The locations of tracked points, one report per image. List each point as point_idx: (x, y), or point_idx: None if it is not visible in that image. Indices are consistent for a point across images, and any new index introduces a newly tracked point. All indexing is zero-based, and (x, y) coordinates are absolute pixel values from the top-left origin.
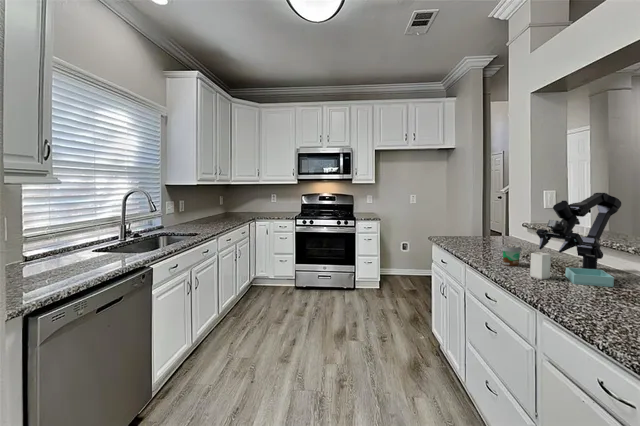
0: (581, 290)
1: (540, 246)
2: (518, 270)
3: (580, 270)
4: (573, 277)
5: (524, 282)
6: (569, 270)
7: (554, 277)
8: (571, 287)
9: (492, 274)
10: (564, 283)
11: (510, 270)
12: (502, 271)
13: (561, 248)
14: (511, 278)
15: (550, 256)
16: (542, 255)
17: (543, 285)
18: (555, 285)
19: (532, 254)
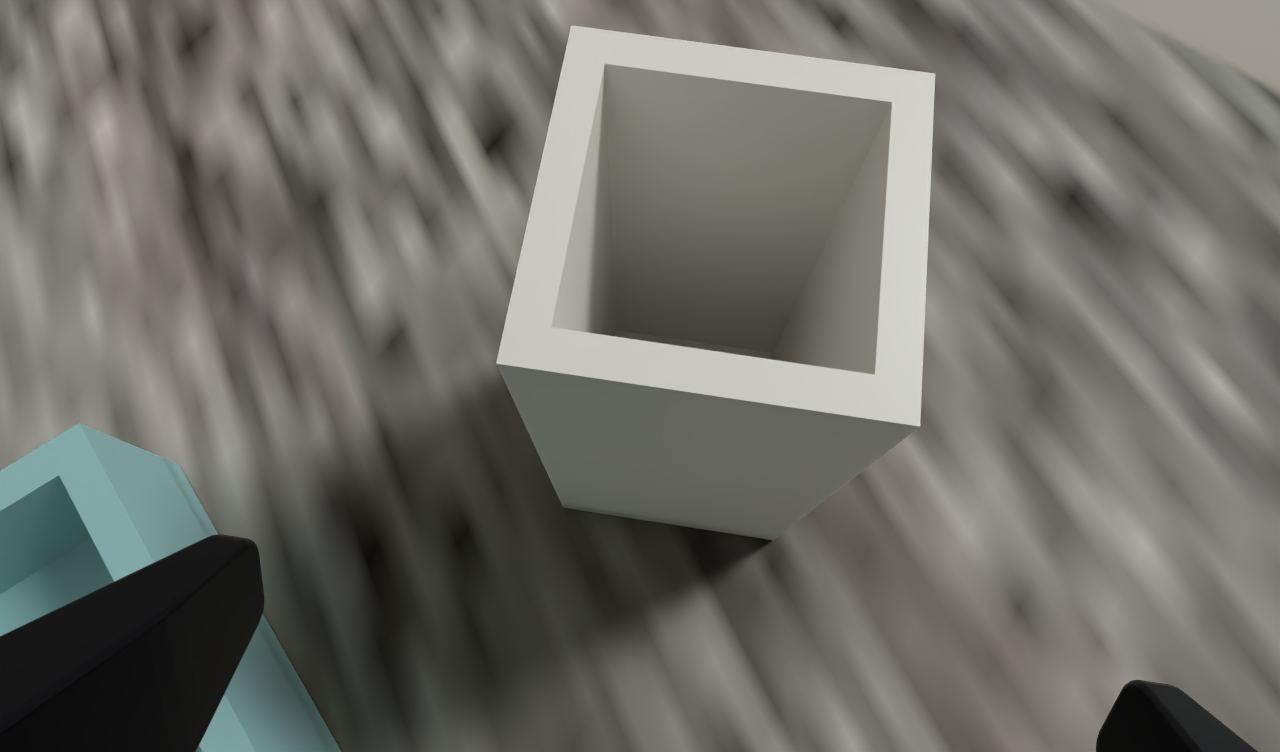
0: (13, 205)
1: (1187, 746)
2: (1193, 617)
3: None
4: (126, 454)
5: (655, 12)
6: (242, 740)
7: (540, 640)
8: (147, 244)
9: (1149, 45)
10: (283, 376)
11: (1249, 491)
12: (1241, 312)
13: (79, 614)
14: (870, 56)
15: (506, 384)
16: (569, 36)
17: (436, 62)
18: (333, 175)
19: (873, 89)
